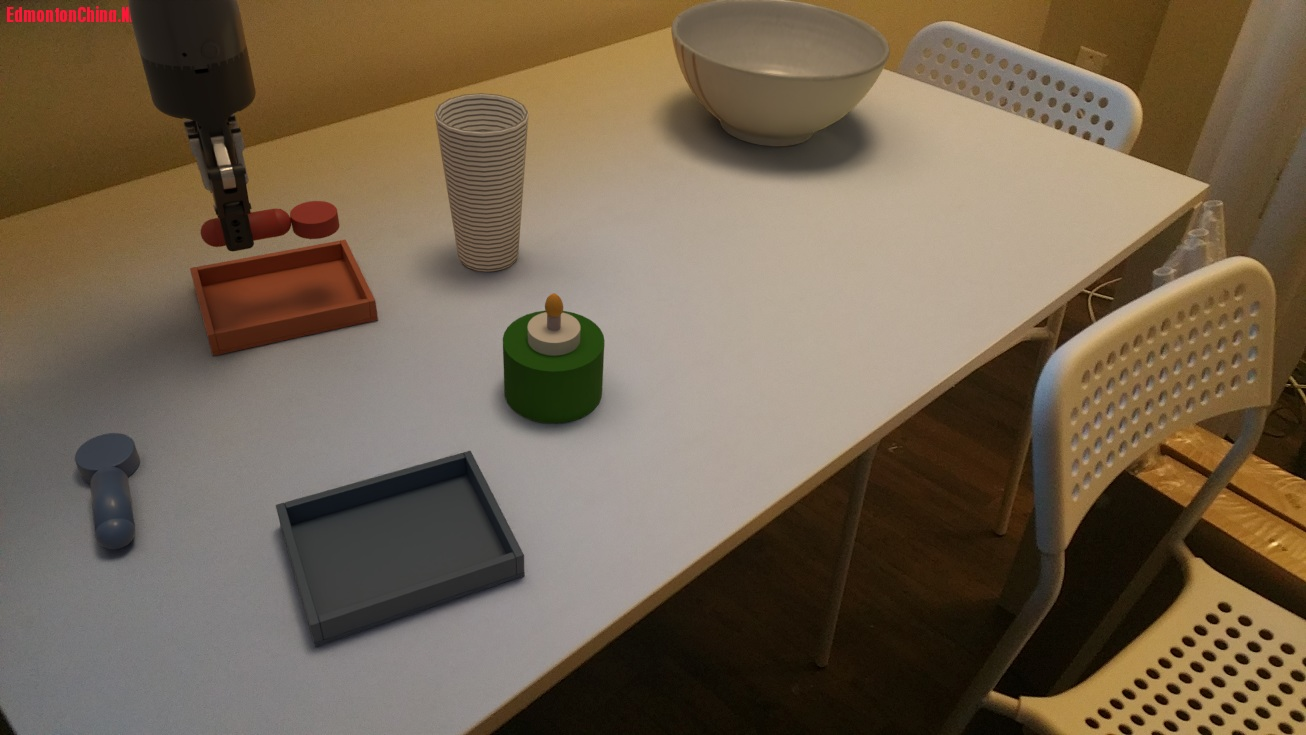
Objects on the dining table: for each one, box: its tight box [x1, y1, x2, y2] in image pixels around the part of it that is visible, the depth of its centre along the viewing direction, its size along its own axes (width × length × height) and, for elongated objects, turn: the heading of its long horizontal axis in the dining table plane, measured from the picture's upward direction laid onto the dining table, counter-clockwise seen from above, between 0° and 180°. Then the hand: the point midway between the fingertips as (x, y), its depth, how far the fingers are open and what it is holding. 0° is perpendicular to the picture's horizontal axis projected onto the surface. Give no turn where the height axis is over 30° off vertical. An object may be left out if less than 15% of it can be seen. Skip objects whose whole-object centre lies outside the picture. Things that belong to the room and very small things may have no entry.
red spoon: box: [200, 200, 340, 248], centre depth 86 cm, size 11×4×2 cm, turn 117°
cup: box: [433, 92, 530, 273], centre depth 95 cm, size 8×8×16 cm
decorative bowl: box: [670, 0, 891, 147], centre depth 124 cm, size 27×27×12 cm
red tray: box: [189, 239, 379, 357], centre depth 90 cm, size 14×11×2 cm
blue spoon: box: [74, 432, 141, 550], centre depth 70 cm, size 11×4×2 cm, turn 27°
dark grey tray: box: [275, 450, 526, 647], centre depth 69 cm, size 14×11×2 cm
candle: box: [502, 292, 605, 425], centre depth 81 cm, size 8×8×10 cm
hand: (237, 238), depth 85 cm, fingers closed on red spoon, 2 cm apart
